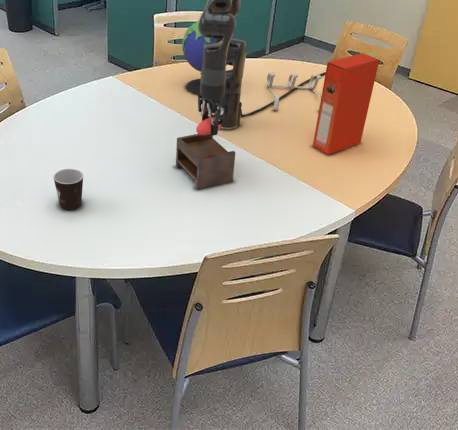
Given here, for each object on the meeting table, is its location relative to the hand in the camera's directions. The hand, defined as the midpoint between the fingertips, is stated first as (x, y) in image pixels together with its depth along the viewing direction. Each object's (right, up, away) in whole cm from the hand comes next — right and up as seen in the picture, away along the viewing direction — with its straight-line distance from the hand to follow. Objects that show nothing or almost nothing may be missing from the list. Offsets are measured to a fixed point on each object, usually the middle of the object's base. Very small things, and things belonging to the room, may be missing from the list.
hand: (209, 130), depth 186 cm
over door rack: (+40, +23, +64) cm, 78 cm away
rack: (-1, -13, +9) cm, 16 cm away
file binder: (+48, -1, +30) cm, 57 cm away
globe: (+2, +29, +70) cm, 76 cm away
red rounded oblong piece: (0, -1, +1) cm, 1 cm away
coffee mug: (-42, -25, -10) cm, 50 cm away
